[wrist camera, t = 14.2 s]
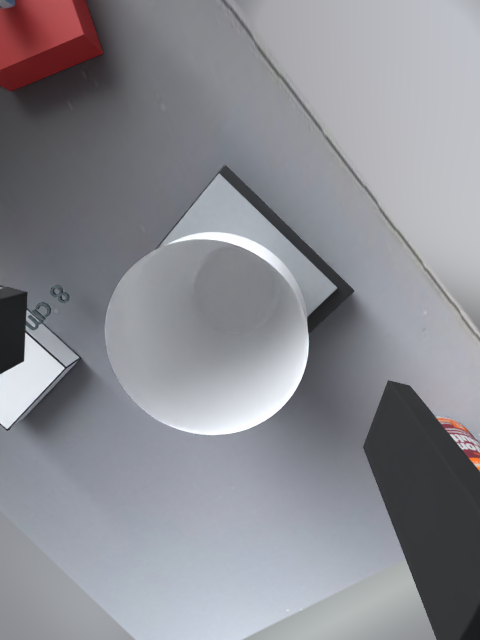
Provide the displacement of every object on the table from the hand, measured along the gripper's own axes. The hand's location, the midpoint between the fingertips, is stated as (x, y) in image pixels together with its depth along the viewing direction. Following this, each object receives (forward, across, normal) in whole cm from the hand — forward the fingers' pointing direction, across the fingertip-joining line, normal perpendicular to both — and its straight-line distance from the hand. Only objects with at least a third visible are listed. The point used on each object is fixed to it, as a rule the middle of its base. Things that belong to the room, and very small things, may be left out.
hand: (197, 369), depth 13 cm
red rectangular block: (+18, -19, +16) cm, 30 cm away
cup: (+14, 0, 0) cm, 15 cm away
